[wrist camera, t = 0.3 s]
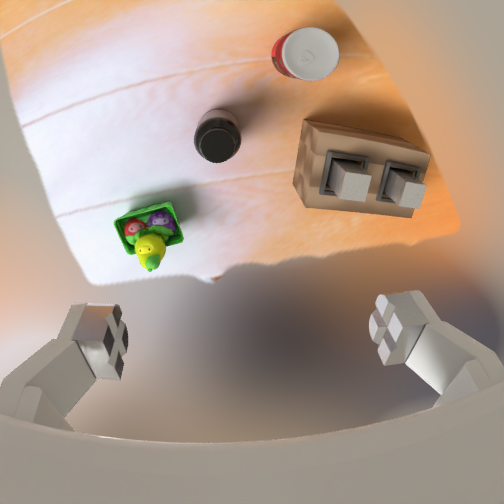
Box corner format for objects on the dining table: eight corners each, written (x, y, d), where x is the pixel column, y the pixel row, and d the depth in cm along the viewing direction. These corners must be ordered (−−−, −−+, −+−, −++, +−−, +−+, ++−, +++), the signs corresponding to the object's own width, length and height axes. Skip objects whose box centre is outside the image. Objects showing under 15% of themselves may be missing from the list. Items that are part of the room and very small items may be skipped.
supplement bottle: (189, 126, 49) (180, 143, 39) (221, 100, 48) (221, 110, 38) (215, 155, 53) (213, 179, 43) (247, 131, 51) (253, 149, 41)
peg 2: (380, 161, 49) (406, 181, 42) (399, 165, 50) (426, 185, 42) (375, 183, 51) (399, 206, 44) (393, 186, 52) (419, 208, 44)
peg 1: (326, 153, 48) (345, 172, 40) (349, 156, 48) (371, 175, 41) (321, 176, 50) (339, 198, 43) (344, 179, 51) (364, 201, 43)
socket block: (303, 119, 50) (320, 132, 42) (402, 138, 53) (432, 155, 44) (292, 183, 57) (306, 209, 48) (387, 195, 59) (412, 219, 51)
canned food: (262, 65, 45) (272, 65, 36) (284, 25, 41) (299, 16, 32) (303, 85, 47) (323, 91, 38) (325, 47, 43) (349, 44, 34)
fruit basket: (175, 192, 56) (165, 221, 46) (189, 233, 61) (183, 268, 51) (119, 207, 56) (101, 238, 47) (136, 246, 61) (122, 281, 52)
